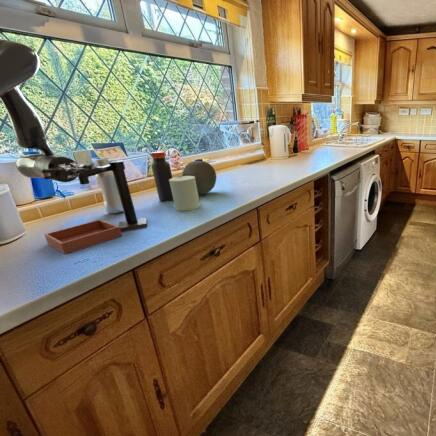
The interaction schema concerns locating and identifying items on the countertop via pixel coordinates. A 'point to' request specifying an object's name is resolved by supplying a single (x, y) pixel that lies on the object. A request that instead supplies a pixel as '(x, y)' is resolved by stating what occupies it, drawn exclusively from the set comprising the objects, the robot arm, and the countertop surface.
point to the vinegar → (162, 176)
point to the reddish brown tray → (82, 236)
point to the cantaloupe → (201, 175)
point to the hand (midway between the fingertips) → (83, 172)
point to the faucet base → (127, 204)
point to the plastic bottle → (109, 189)
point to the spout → (100, 171)
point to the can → (184, 193)
